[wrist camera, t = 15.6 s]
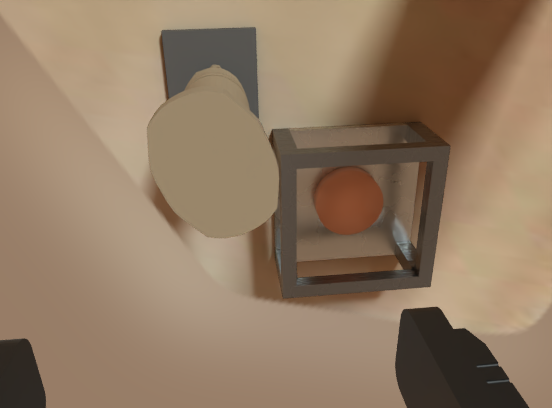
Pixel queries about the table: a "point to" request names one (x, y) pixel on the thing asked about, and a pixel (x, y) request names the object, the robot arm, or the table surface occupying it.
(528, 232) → the table surface
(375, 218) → the button
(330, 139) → the guard frame
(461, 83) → the table surface
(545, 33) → the table surface
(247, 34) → the rubber mat
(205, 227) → the handle
